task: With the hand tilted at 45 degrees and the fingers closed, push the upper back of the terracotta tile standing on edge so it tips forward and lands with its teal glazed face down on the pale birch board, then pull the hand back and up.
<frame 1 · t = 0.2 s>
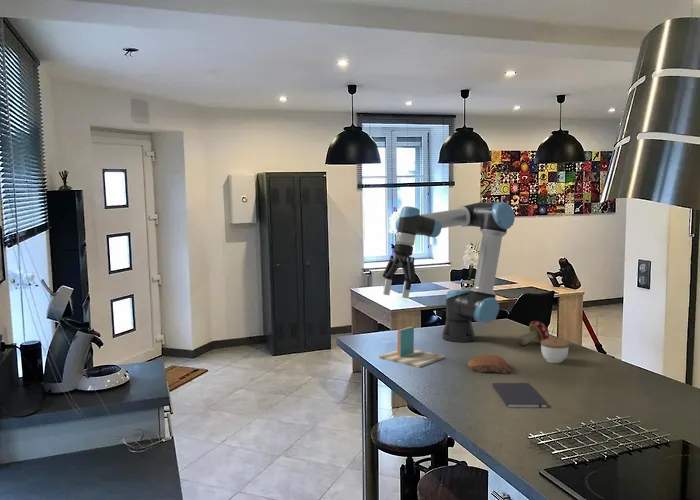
hand: (395, 296, 236), 26 cm above the kitchen island, tool pointing down, fingers open, 13 cm apart
tile: (405, 341, 244), point 6 cm above the kitchen island, touching board
lidded jar: (554, 361, 238), on the kitchen island
board: (411, 358, 243), on the kitchen island
decorative mushroom: (531, 344, 266), on the kitchen island
notebook: (518, 398, 196), on the kitchen island
ceramic shard: (486, 369, 229), on the kitchen island
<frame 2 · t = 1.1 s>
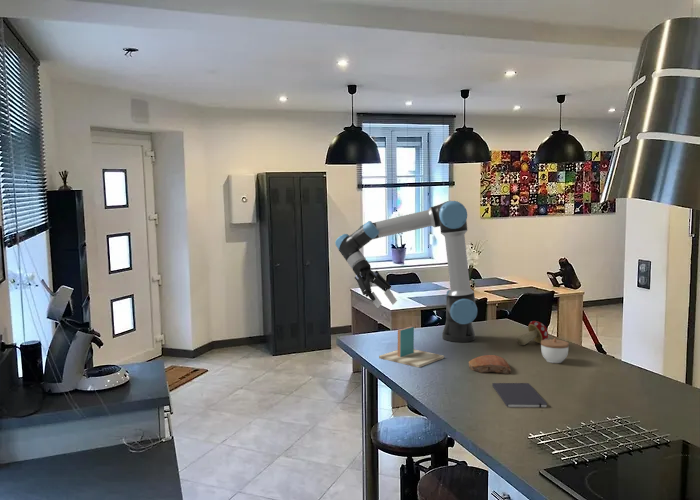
hand: (387, 304, 249), 21 cm above the kitchen island, tool tilted 45°, fingers open, 10 cm apart
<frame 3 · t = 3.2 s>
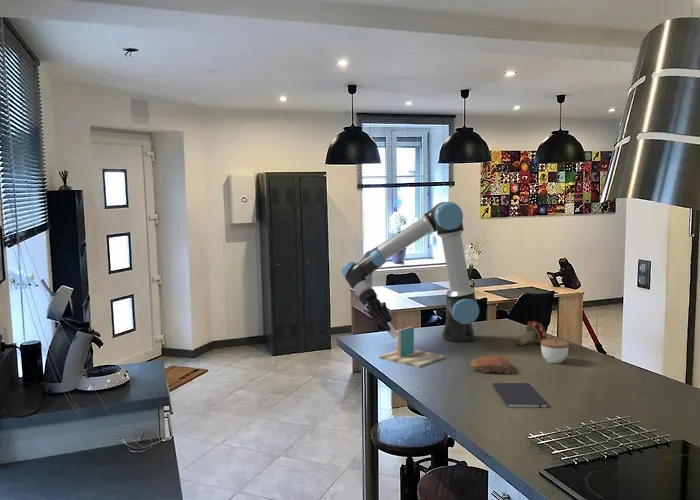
hand: (395, 336, 248), 8 cm above the kitchen island, tool tilted 45°, fingers closed
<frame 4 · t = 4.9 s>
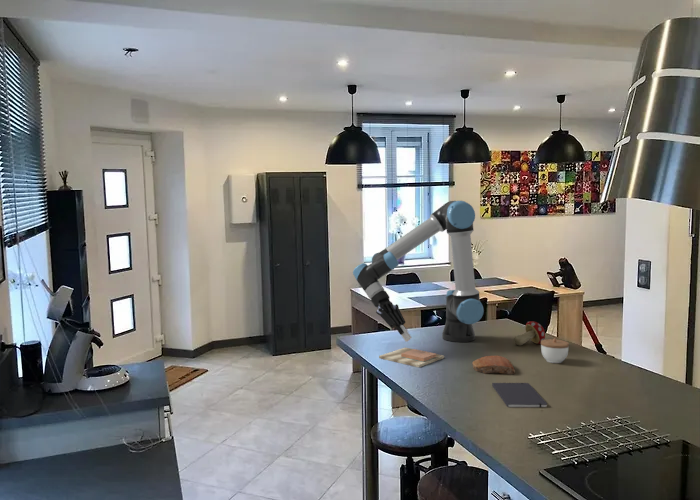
hand: (408, 339, 243), 8 cm above the kitchen island, tool tilted 45°, fingers closed
tile: (418, 355, 240), point 2 cm above the kitchen island, tilted 90°, touching board
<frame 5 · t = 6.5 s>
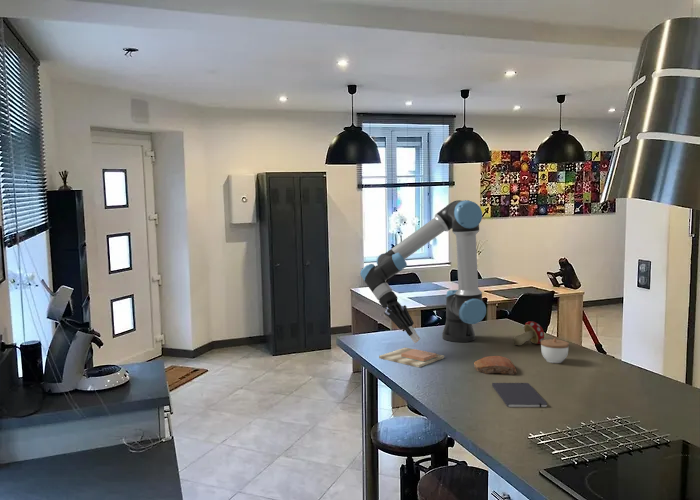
hand: (417, 340, 240), 8 cm above the kitchen island, tool tilted 45°, fingers closed
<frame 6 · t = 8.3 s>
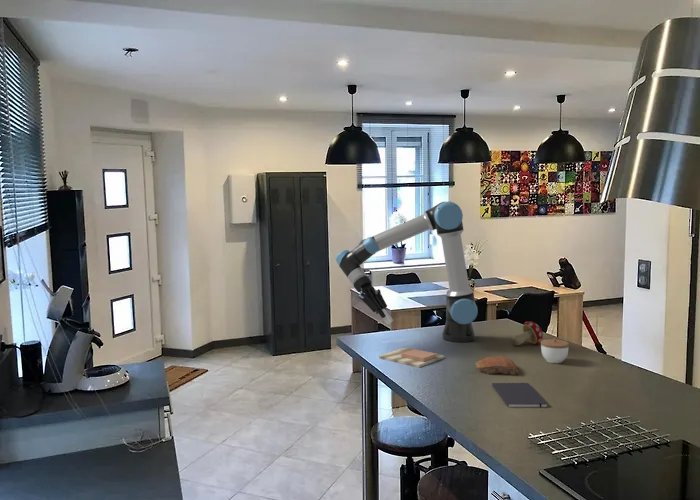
hand: (390, 322, 249), 13 cm above the kitchen island, tool tilted 45°, fingers closed
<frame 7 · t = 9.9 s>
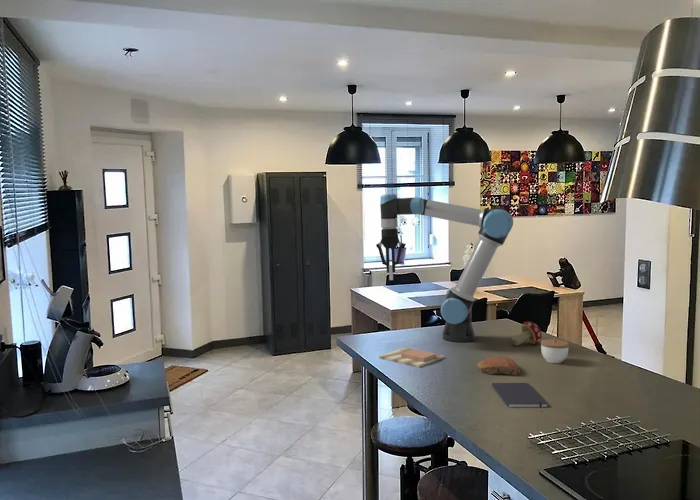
hand: (391, 279, 269), 29 cm above the kitchen island, tool pointing down, fingers closed
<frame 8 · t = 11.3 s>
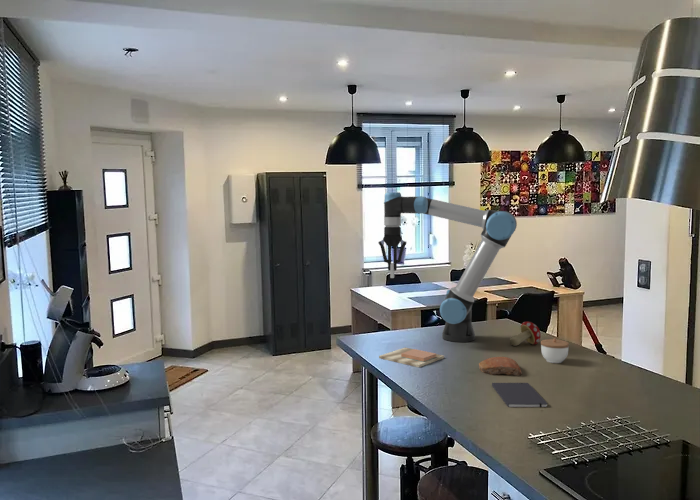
hand: (392, 277, 270), 29 cm above the kitchen island, tool pointing down, fingers closed
at the end: tile tilted 90°; tile inside the target area (0.4 cm from its centre), point 1.8 cm above the kitchen island; tile touching board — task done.
